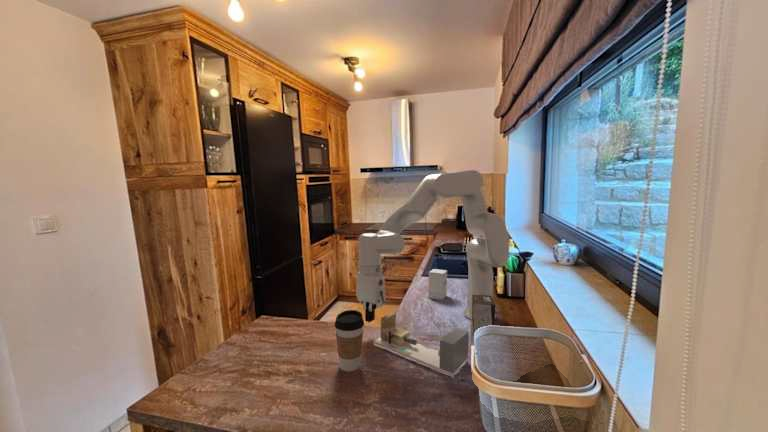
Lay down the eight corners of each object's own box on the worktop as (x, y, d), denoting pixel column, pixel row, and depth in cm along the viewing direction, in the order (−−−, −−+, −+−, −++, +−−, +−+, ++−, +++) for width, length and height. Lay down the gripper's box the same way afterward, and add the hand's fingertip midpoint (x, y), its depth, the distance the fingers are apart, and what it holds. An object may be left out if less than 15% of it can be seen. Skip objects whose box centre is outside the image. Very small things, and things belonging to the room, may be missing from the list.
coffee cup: (368, 360, 90) (368, 311, 89) (357, 376, 82) (356, 323, 81) (343, 355, 93) (342, 308, 92) (329, 370, 85) (328, 319, 84)
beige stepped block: (378, 341, 98) (378, 319, 98) (391, 332, 104) (391, 312, 104) (407, 353, 91) (407, 329, 91) (420, 343, 97) (421, 321, 96)
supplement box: (443, 300, 140) (443, 273, 139) (427, 298, 143) (428, 271, 142) (447, 295, 147) (447, 270, 146) (432, 293, 150) (432, 268, 149)
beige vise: (373, 345, 99) (373, 317, 98) (392, 334, 107) (392, 308, 106) (452, 378, 82) (453, 344, 81) (467, 362, 89) (468, 331, 89)
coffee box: (494, 356, 93) (496, 304, 92) (472, 353, 94) (473, 303, 93) (490, 341, 102) (491, 294, 100) (470, 339, 103) (471, 293, 102)
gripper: (393, 270, 103) (393, 322, 104) (361, 263, 112) (361, 311, 114) (379, 275, 97) (379, 330, 99) (346, 267, 106) (347, 318, 108)
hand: (370, 320), depth 106 cm, fingers closed
